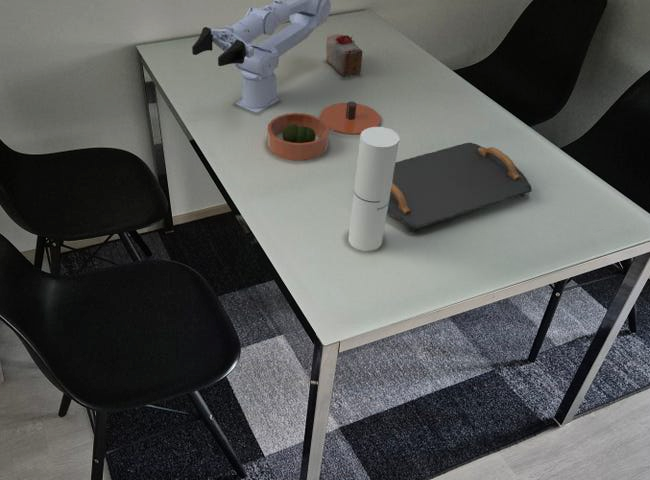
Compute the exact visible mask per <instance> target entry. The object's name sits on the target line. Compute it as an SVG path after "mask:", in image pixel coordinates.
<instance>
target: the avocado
mask: <svg viewBox="0 0 650 480" xmlns="http://www.w3.org/2000/svg"><path fill="white" fill-rule="evenodd" d="M316 135H317V134H315V132H314V130H313V129H311V128H309V127H298V126H296V125H289V126H287V127H286V128H285V129H284V131H283V132H282V140H284V141H287V142H292V143H307V142H312V141H315V140H316V137H317V136H316Z"/></svg>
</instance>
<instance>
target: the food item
mask: <svg viewBox="0 0 650 480" xmlns="http://www.w3.org/2000/svg"><path fill="white" fill-rule="evenodd" d="M353 37H354V35H352V36H349V35H348V34H347V35H344V34H340V33H334V34H331V35H328V36H327V37H326V46H325V48H326V49H325V51H326V55H325V56H326V57H325V58H326V60H325V61H326V62H327V63H328V64H329V65H330V66H332V67H333V68H334V69H335V70H336V71H337V72H338V73H339V74H340V75H341V76H342V77H343V78H348V77H349V78H350V77H353V76H360V75H361V72H362V63H363V50H362V49H361V48H360V47H359V46H358V45H357V44H356V43H355V40H353Z"/></svg>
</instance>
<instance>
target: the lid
mask: <svg viewBox="0 0 650 480" xmlns="http://www.w3.org/2000/svg"><path fill="white" fill-rule="evenodd" d="M319 115H320V116H319V118H320V119H322V120H323V121H324V122H326V124H327V125H328V127H329V131H330V130H331V131H333V132H336V133H338V134H343V135H350V136H351V135H352V136H354V135H355V136H356V135H361V133H362V131H364V130H365V129H367V128H371V127H380V125H381V116H380V114H379V112H377V111H376V110H375V109H374V108H372V107H370V106H367V105H365V104H361V103H357V102H356V101H348V102H338V103H333V104H330V105H328V106H326V107H325V108H323V109H322V110H321V112H320V114H319Z"/></svg>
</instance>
